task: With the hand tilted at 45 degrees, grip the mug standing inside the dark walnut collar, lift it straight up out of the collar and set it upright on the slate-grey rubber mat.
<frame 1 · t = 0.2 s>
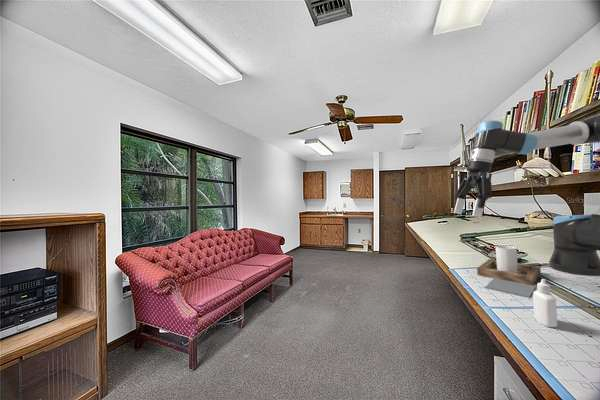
hand: (466, 215, 92), 27 cm above the worktop, tool tilted 15°, fingers open, 13 cm apart
eye dropper bottle: (545, 323, 64), on the worktop
walnut collar: (508, 274, 98), on the worktop
mug: (508, 274, 98), resting in walnut collar
rubber mat: (510, 287, 86), on the worktop
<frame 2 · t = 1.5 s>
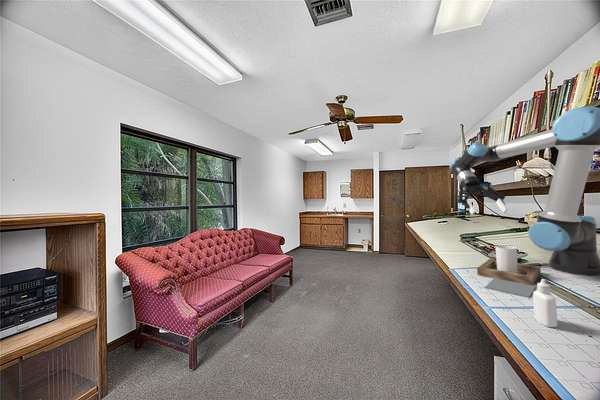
hand: (489, 212, 107), 26 cm above the worktop, tool tilted 45°, fingers open, 13 cm apart
nothing on the worktop moved.
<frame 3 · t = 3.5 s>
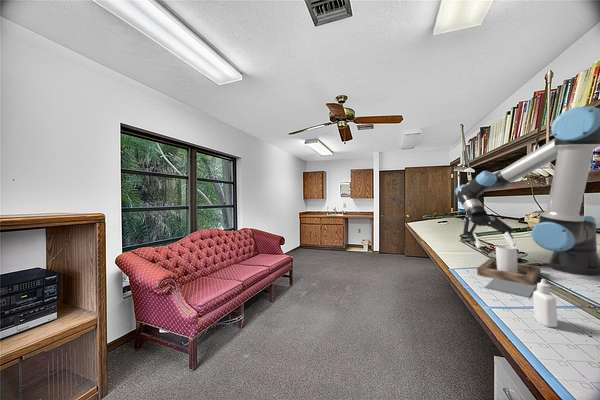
hand: (496, 246, 104), 11 cm above the worktop, tool tilted 45°, fingers open, 13 cm apart
nothing on the worktop moved.
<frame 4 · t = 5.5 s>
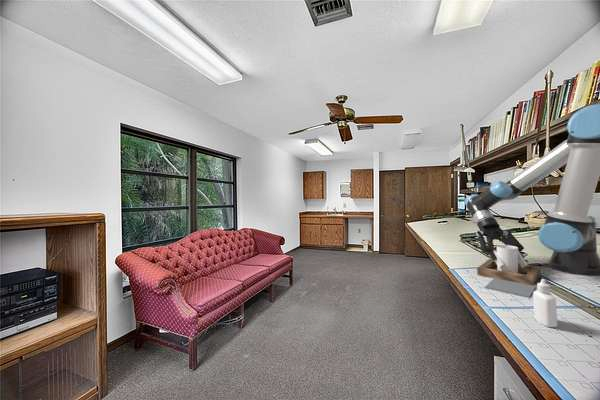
hand: (513, 266, 95), 5 cm above the worktop, tool tilted 45°, fingers closed on mug, 8 cm apart
mug: (508, 274, 98), resting in walnut collar, touching gripper
everything else where it was.
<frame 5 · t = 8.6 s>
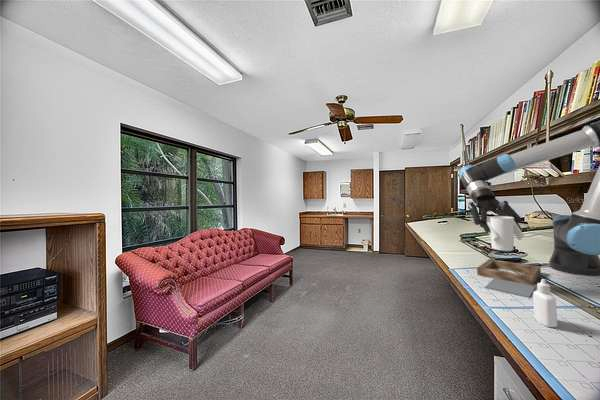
hand: (508, 238, 85), 19 cm above the worktop, tool tilted 45°, fingers closed on mug, 8 cm apart
mug: (503, 248, 89), point 14 cm above the worktop, touching gripper
everything else where it was.
when the fingers open (6 cm above the worktop, at t = 11.5 s): mug drops 1 cm, resting on rubber mat.
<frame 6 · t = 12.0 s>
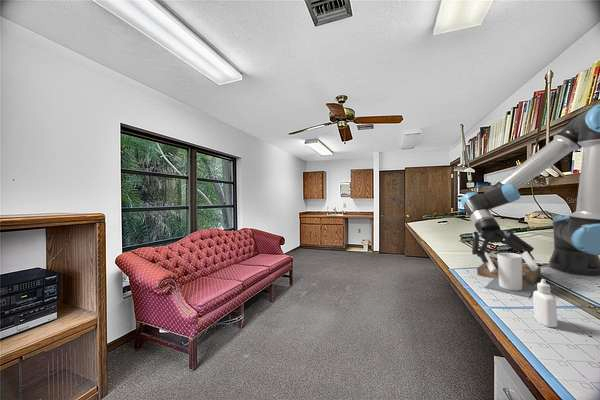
hand: (514, 270, 84), 7 cm above the worktop, tool tilted 45°, fingers open, 13 cm apart
mug: (511, 286, 86), resting on rubber mat
everything else where it was.
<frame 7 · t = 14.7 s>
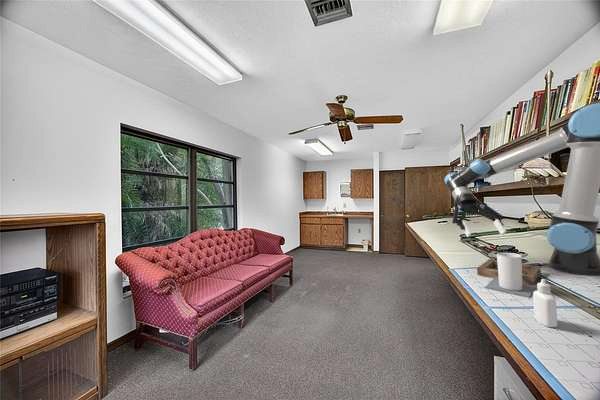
hand: (486, 234, 99), 17 cm above the worktop, tool tilted 45°, fingers open, 13 cm apart
nothing on the worktop moved.
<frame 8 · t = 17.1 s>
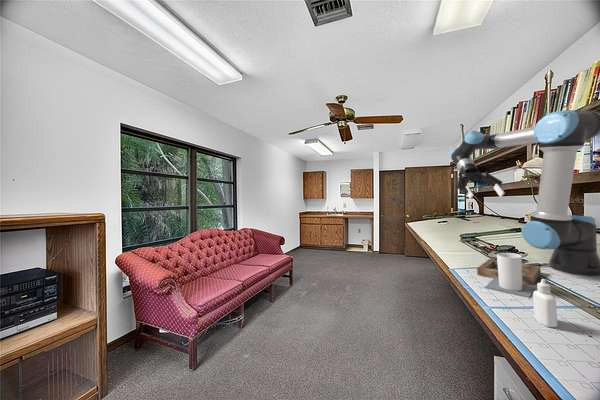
hand: (487, 196, 113), 33 cm above the worktop, tool tilted 45°, fingers open, 13 cm apart
nothing on the worktop moved.
at the end: mug inside the target area on the rubber mat (0.6 cm from its centre), point 0.2 cm above the rubber mat's base; mug tilted 0°; the gripper is holding nothing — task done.
